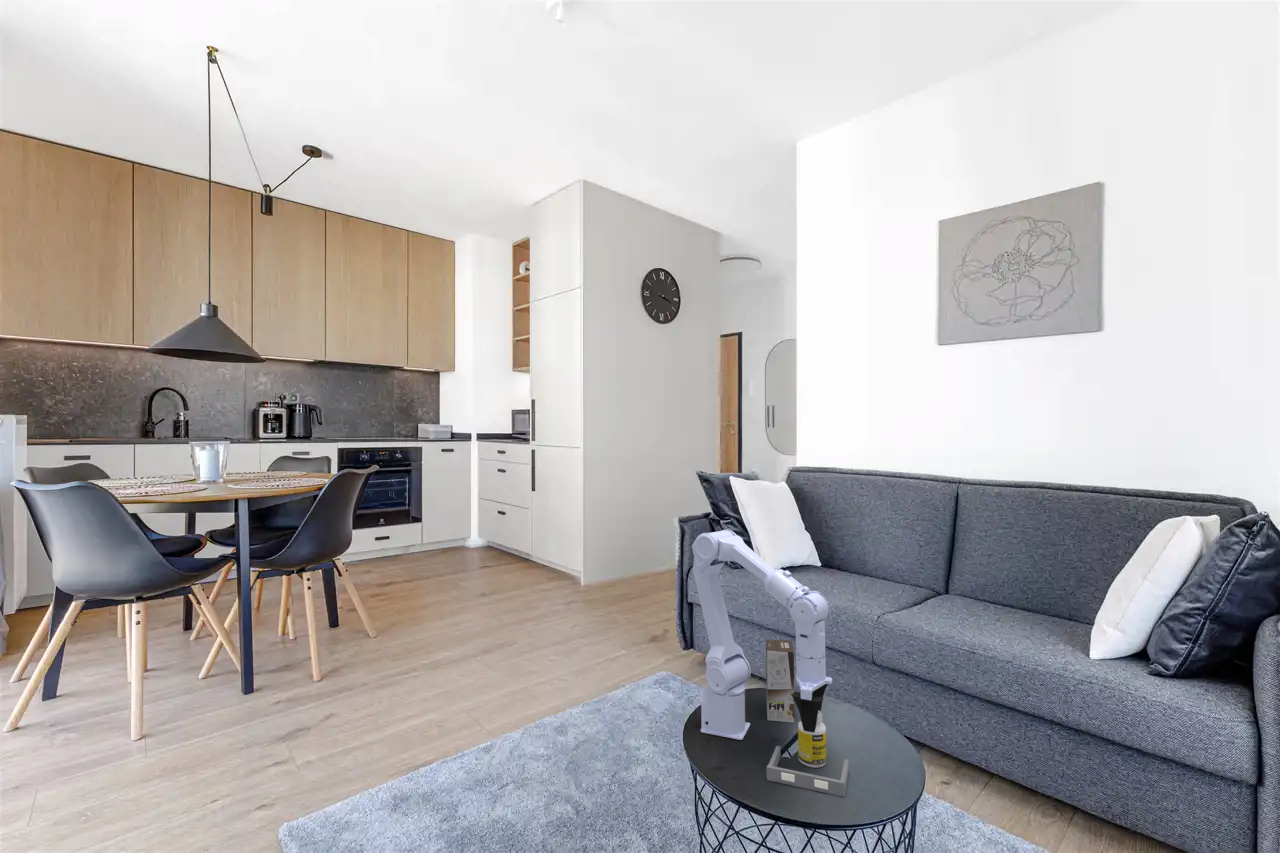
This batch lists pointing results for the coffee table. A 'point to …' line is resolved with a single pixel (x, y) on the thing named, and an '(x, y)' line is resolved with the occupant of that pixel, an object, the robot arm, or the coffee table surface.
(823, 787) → the rail
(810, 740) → the supplement bottle
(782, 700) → the coffee box
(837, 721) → the coffee table surface
